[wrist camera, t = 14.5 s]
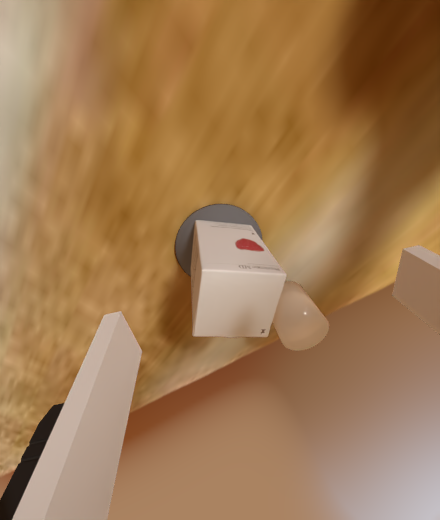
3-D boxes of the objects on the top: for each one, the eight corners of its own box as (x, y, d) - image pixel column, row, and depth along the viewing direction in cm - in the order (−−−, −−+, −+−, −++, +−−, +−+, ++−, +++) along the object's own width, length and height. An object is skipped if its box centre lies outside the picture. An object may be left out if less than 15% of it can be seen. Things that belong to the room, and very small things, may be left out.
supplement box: (253, 223, 37) (291, 274, 24) (242, 273, 41) (269, 339, 28) (194, 217, 35) (200, 268, 22) (188, 270, 39) (191, 339, 26)
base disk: (205, 185, 34) (205, 186, 33) (278, 232, 39) (279, 233, 38) (159, 261, 38) (159, 263, 38) (230, 294, 43) (230, 296, 43)
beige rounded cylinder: (281, 274, 43) (303, 306, 35) (312, 291, 46) (339, 324, 38) (255, 305, 46) (270, 342, 38) (286, 319, 48) (306, 356, 41)
